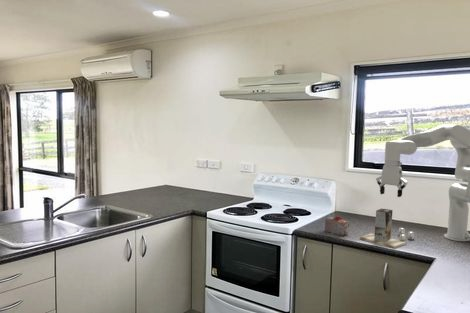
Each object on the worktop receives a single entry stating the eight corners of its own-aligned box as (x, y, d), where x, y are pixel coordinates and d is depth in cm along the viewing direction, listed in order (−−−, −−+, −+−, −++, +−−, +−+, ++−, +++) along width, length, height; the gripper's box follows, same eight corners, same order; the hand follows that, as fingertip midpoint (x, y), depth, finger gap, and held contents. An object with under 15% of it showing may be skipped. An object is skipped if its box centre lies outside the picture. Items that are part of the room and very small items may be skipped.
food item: (350, 235, 222) (351, 218, 221) (342, 237, 217) (343, 220, 216) (330, 229, 232) (331, 213, 231) (322, 231, 227) (323, 215, 226)
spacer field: (417, 238, 219) (417, 231, 219) (403, 243, 209) (404, 236, 208) (389, 231, 232) (389, 224, 232) (374, 235, 222) (375, 228, 221)
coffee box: (386, 242, 205) (388, 212, 204) (373, 240, 209) (375, 210, 208) (391, 238, 213) (392, 209, 211) (379, 236, 216) (380, 208, 215)
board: (405, 244, 207) (405, 242, 207) (394, 248, 199) (394, 246, 199) (371, 235, 222) (371, 233, 222) (359, 238, 214) (360, 236, 214)
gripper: (411, 164, 204) (409, 196, 206) (380, 162, 217) (379, 192, 219) (404, 165, 199) (403, 198, 201) (373, 162, 212) (372, 193, 214)
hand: (390, 195), depth 210 cm, fingers open, 9 cm apart
